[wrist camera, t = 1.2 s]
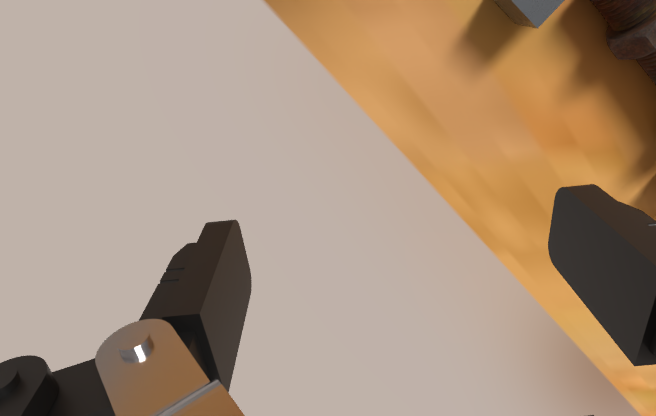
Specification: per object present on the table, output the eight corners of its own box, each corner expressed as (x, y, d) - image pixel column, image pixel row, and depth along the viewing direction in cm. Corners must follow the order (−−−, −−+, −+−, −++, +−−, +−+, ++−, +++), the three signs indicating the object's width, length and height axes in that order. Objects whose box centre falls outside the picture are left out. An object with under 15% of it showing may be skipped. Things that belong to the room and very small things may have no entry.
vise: (551, -237, 24) (584, -269, 21) (795, 101, 34) (843, 113, 30) (424, -73, 28) (437, -80, 25) (676, 193, 37) (708, 213, 34)
